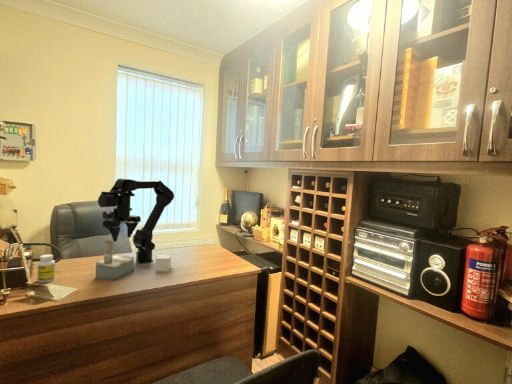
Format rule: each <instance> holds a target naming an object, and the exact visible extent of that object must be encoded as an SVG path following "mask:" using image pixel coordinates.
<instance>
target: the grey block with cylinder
mask: <svg viewBox="0 0 512 384" xmlns="http://www.w3.org/2000/svg"><path fill="white" fill-rule="evenodd" d="M113 246H114V241H113V240H105V241H104V247H103V248H104V252H103V255H104V256H103V259H102V260H100V261H97V262H96V263H95V266H97V265H100V266H106V267H113V268H115V267H118V266H120V265H122V264H125V263H127V262H129V261H132V260H134V261H135V257H133V256H128V255H127V256H126V255H120V254H116V255H115V254H114V255H113V249H114V247H113Z"/></svg>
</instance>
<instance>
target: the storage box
mask: <svg viewBox="0 0 512 384" xmlns="http://www.w3.org/2000/svg"><path fill="white" fill-rule="evenodd" d="M134 267H135V259H134V260H132V261H129V262H127V263H125V264H122V265H120V266H118V267H115V268H113V267H106V266H100V265H95V278H97V279H102V280H107V281H117V280H119V279H120V278H123V277H124V276H126V275H129V274H130V273H132V272H134V269H135V268H134Z"/></svg>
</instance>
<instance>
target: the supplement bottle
mask: <svg viewBox="0 0 512 384" xmlns="http://www.w3.org/2000/svg"><path fill="white" fill-rule="evenodd" d="M53 258H54V255H53V254H51V253H50V254H43V255H40V257H39V260H40V261H39V262H38V263H37V277H36V278H37V282H38V283H47V282H52V281H53V280H54V279H55V273H56V269H55V268H56V266H55V265H56V262H55V260H54V259H53Z"/></svg>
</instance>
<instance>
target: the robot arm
mask: <svg viewBox="0 0 512 384" xmlns="http://www.w3.org/2000/svg"><path fill="white" fill-rule="evenodd" d="M138 189H141V190H143V189H153V191H154V193H155V195H156V198H155V204H154V206H153V209H152V210H151V212H150V214H149V216H148V218H147V219H146V221H145V223H144V225H143V227H142V228H140V229H139V228H138V229H136V228H137V226H138V225H139V224H140V223H141V216H140V215H131V211H133V207H131V197H135V196H136V195H135V193H133V191H135V190H138ZM174 198H175V194H174V191H173V190H171V189H170V188H169V187H168V186H166V185H165V184H164V182H162V180H157V179H154V180H134V179H130V178H129V179H128V178H117V179H116V181H115V182H114V184H113V185H112V187H111V189H110V190H109V191H101V193H100V194H99V196H98V198H97V204H98V206H99V207H100V208H113V207H114V208H113V211H109V210H106V211H103V212H102V219H104V220H103V221H102V228H105V229H107V230H108V231H109V233H110V234H111V238H112V241H113V243H116V242H117V241H118V238H119V234H120V230H121V224H125V226H126V231H127V233H126V234H127V238H128V239H129V238H131V236H132V235H133V233H134V232H135V233H134V235H133V236H132V237H133V238H132V243H133V244H134V245H133V246H134V247H135V249H137V251H136V253H135V255H136V256H135V260H136V262H138V263H139V264H143V263H152V262H153V261H154V259H153V251H154V250H155V248H156V244H155V243H154V242H153V233H154V229H155V228H156V225H157V223H158V222H159V220H160V218H161V216H162V214H163V212H164V210H165V209H166V207H167V206H169V205H170V204H171V203H172V201H173V200H174ZM135 229H136V231H135Z"/></svg>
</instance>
